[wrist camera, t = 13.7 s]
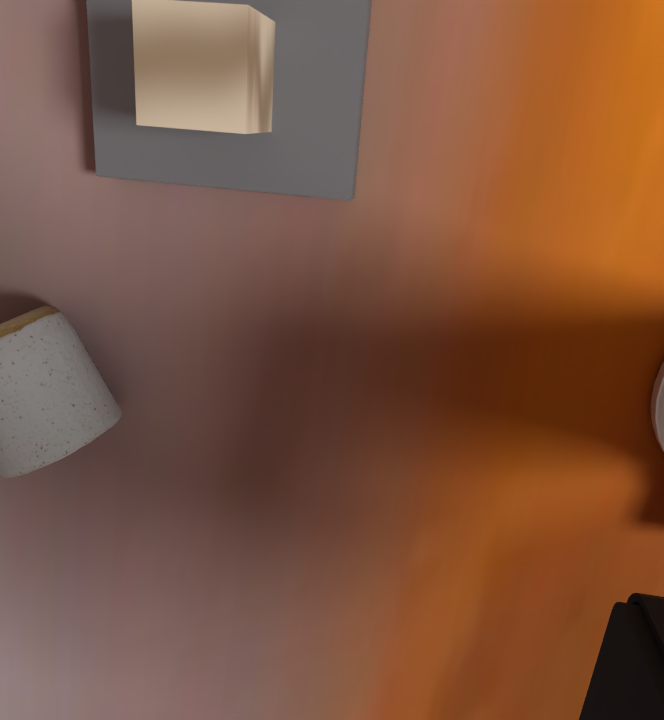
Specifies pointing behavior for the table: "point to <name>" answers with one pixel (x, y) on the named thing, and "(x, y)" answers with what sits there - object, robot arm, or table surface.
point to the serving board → (233, 150)
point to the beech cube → (203, 66)
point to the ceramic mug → (47, 393)
